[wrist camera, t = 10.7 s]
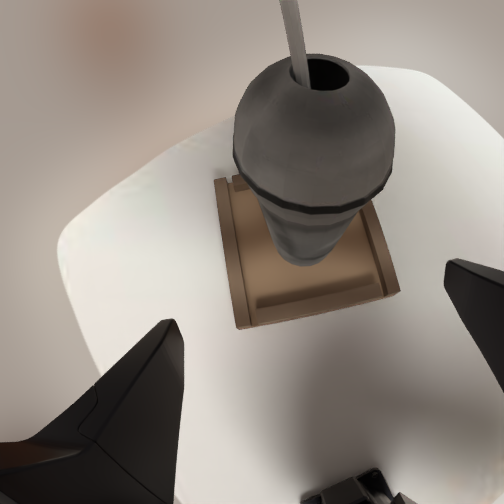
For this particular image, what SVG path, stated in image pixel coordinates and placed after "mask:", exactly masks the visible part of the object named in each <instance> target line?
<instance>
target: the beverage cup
mask: <svg viewBox="0 0 504 504" xmlns="http://www.w3.org/2000/svg"><path fill="white" fill-rule="evenodd" d="M279 1H280V5H281V10H282V14H283V19H284V24H285V29H286V34H287V39H288V44H289V49H290V55H291V56H290V57H287V58H285V59H282V60H280V61H278V62H276V63H274V64H272V65H270V66H268V67H267V68H266V69H265V70H264V71H263V72H261V73H260V74H259V75H258V76H257V77H256V78H255V79H254V80H253V81H252V82H251V83H250V84H249V86H248V87H247V89H246V91H245V93H244V95H243V97H242V99H241V101H240V103H239V105H238V108H237V111H236V114H235V122H234V135H233V158H234V161H235V163H236V166H237V168H238V171H239V173H240V176H241V177H242V178H243V179H244V181H245V182H246V183H247V184H248V186H249V188H250V189H251V191H252V192H253V194H254V195H255V196H256V197H257V199H258V202H259V205H260V207H261V210H262V213H263V216H264V218H265V221H266V224H267V227H268V230H269V232H270V235H271V238H272V240H273V243H274V245H275V247H276V249H277V251H278V253H279V254H280V255H281V257H282V258H283V259H284V260H286V261H287V262H289V263H291V264H293V265H297V266H301V267H302V266H312V265H315V264H317V263H319V262H321V261H322V260H323V259H324V258H326V256H327V255H328V254H329V253H330V252H331V251H332V249H333V248H334V247H335V245H336V244H337V242H338V241H339V239H340V238H341V236H342V235H343V233H344V232H345V230H346V229H347V227H348V226H349V224H350V223H351V221H352V220H353V218H354V217H355V215H356V214H357V212H358V211H359V210H360V209H361V208H362V207H364V206H365V205H366V204H367V203H368V202H369V201H370V200H371V199H372V198H373V197H375V196H376V195H377V194H378V193H379V192H381V191H382V190H383V188H384V186H385V184H386V182H387V180H388V178H389V176H390V175H391V173H392V164H393V157H394V147H395V124H394V119H393V116H392V113H391V111H390V108H389V106H388V103H387V101H386V99H385V96H384V94H383V93H382V91H381V90H380V88H379V87H378V86H377V85H376V84H375V83H374V81H373V80H372V79H371V78H370V77H369V76H368V75H367V74H366V73H365V72H363V71H362V70H361V69H359V68H357V67H356V66H354V65H353V64H351V63H350V62H347V61H345V60H342V59H340V58H337V57H334V56H329V55H323V54H306V50H305V44H304V37H303V31H302V25H301V19H300V13H299V8H298V2H297V0H279Z"/></svg>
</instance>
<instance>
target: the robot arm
mask: <svg viewBox="0 0 504 504" xmlns="http://www.w3.org/2000/svg"><path fill="white" fill-rule="evenodd" d="M444 287H445V290H446V292H447V293H448V295H449V297H450V299H451V301H452V303H453V305H454V306H455V308H456V310H457V312H458V314H459V316H460V318H461V320H462V322H463V323H464V325H465V327H466V328H467V330H468V331H469V333H470V334H471V336H472V338H473V339H474V341H475V343H476V344H477V346H478V348H479V349H480V351H481V353H482V354H483V356H484V358H485V359H486V361H487V363H488V365H489V366H490V368H491V370H492V372H493V374H494V375H495V377H496V379H497V381H498V383H499V385H500V387H501V389H502V390H503V392H504V271H501V270H497V269H494V268H490V267H487V266H483V265H480V264H476V263H473V262H469V261H466V260H462V259H458V258H456V259H452V260H449V261H447V263H446V268H445V276H444ZM183 393H184V341H183V337H182V335H181V333H180V330H179V328H178V325H177V323H176V321H175V320H174V319H165V320H161V321H160V322H159V323H158V324H157V325H156V326H155V327H153V328H152V329H151V330H150V331H149V332H148V333H147V334H146V335H145V336H144V337H143V338H142V339H141V340H140V341H139V342H138V343H137V344H136V345H135V346H133V347H132V348H131V349H130V350H129V351H128V352H127V353H126V354H125V355H124V356H123V357H122V358H121V359H120V360H119V361H118V362H117V363H116V364H115V365H114V366H112V367H111V368H110V369H109V370H108V371H107V372H106V373H105V374H104V375H103V376H102V377H101V378H100V379H99V380H98V381H97V382H96V383H95V384H94V386H92V387H91V388H90V389H89V390H87V391H86V392H85V393H84V394H83V395H82V396H81V397H80V398H79V399H78V400H77V401H76V402H75V403H74V404H72V405H71V406H70V407H69V408H68V409H66V410H65V411H64V412H63V413H62V414H60V415H59V416H58V417H57V418H55V419H54V420H53V421H52V422H50V423H49V424H48V425H47V426H46V427H44V428H43V429H42V430H41V431H40V432H38V433H37V434H35V435H34V436H33V437H31V438H29V439H26V440H23V441H19V442H0V504H173V501H174V487H175V474H176V462H177V450H178V440H179V430H180V420H181V411H182V402H183ZM374 472H377V474H376V475H375V476H372V474H373V473H374ZM301 504H417V503H415V502H414V501H412V500H411V499H409V498H408V497H406V496H405V495H403V494H402V493H400V492H399V493H398V494H397V495H396V496H395V497H394V498H393V496H392V494H391V492H390V490H389V488H388V486H387V483H386V481H385V479H384V477H383V475H382V473H381V471H380V470H379V469H378V468H372V469H370V470H368V471H366V472H365V473H363V474H361V475H359V476H357V477H351V478H349V479H347V480H345V481H343V482H341V483H339V484H336V485H334V486H332V487H330V488H328V489H325V490H323V491H322V492H321V494H319V495H316V496H314V497H311V498H309V499H307V500H304V501H302V502H301Z"/></svg>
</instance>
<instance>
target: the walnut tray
mask: <svg viewBox="0 0 504 504" xmlns="http://www.w3.org/2000/svg"><path fill="white" fill-rule="evenodd" d="M232 181H233V183H227V180H226V177H225V178H220V179H215V180H214V185H215V192H216V200H217V207H218V214H219V221H220V227H221V234H222V241H223V248H224V254H225V261H226V267H227V274H228V280H229V287H230V293H231V299H232V305H233V311H234V317H235V323H236V328H238V329H239V330H241V329H247V328H252V327H258V326H263V325H268V324H273V323H278V322H283V321H288V320H293V319H298V318H303V317H308V316H312V315H317V314H321V313H326V312H330V311H334V310H339V309H343V308H347V307H351V306H355V305H360V304H364V303H368V302H371V301H375V300H379V299H383V298H387V297H391V296H394V295H395V294H397V293H398V292H400V287H399V284H398V280H397V276H396V273H395V270H394V266H393V263H392V260H391V256H390V253H389V250H388V247H387V244H386V241H385V237H384V234H383V231H382V228H381V226H380V223H379V220H378V217H377V214H376V211H375V209H374V206H373V203H372V200H370V201H369V202H368V203H367V204H366V205H365V206H364V207H362V208H361V209H360V210H359V211H358V212H357V214H356V215H355V217H354V218H353V220H352V221H351V223H350V224H349V226H348V227H347V229H346V230H345V232H344V233H343V235H342V236H341V238H340V239H339V241H338V242H337V244H336V245H335V247H334V248H333V249H332V251H331V252H330V253H329V254H328V255H327V256H326V258H324V259H323V260H322V261H321V262H319V263H317V264H315V265H312V266H302V267H301V266H297V265H293V264H291V263H289V262H287V261H286V260H284V259H283V258H282V257H281V255H280V254H279V253H278V251H277V249H276V247H275V245H274V243H273V240H272V238H271V235H270V232H269V230H268V227H267V224H266V221H265V218H264V216H263V213H262V210H261V207H260V205H259V202H258V199H257V197H256V196H255V195H254V194H253V192H252V191H251V189H250V188H249V186H248V184H247V183H246V182H245V181H244V179H243V178H242V177H241V176H240V174H239V175H234V176H232Z"/></svg>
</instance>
